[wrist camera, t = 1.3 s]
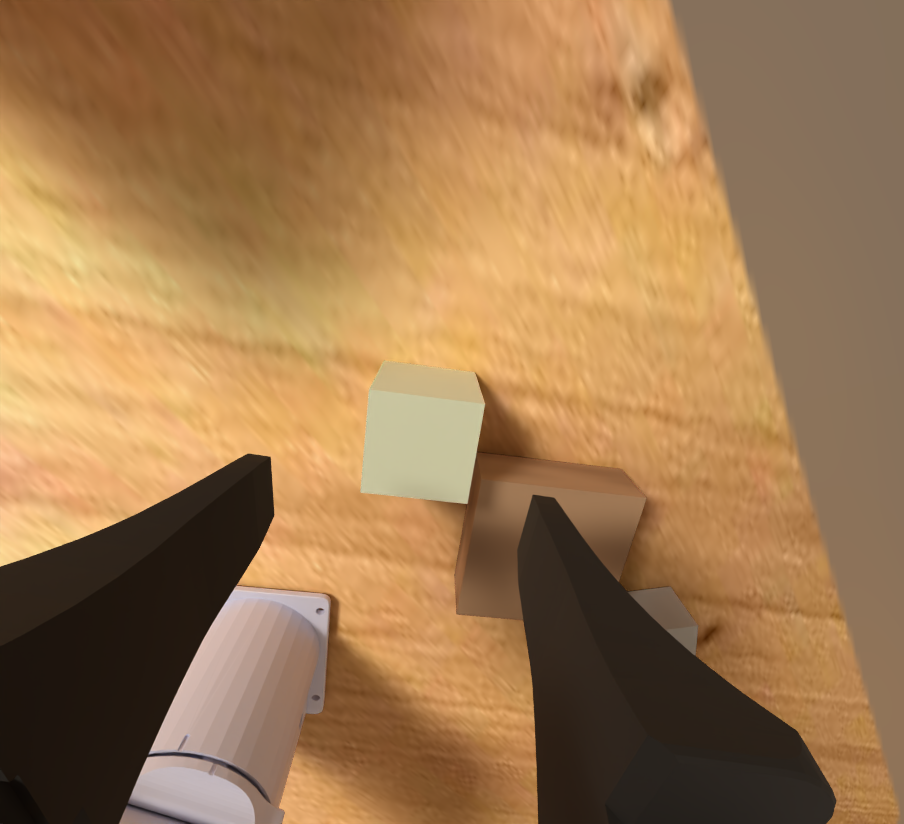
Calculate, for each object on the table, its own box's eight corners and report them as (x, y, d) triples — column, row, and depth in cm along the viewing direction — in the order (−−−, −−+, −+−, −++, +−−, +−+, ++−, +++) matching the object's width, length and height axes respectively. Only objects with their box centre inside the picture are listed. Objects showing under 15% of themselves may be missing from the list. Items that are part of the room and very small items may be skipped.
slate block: (666, 660, 29) (691, 704, 26) (574, 670, 29) (589, 716, 26) (670, 586, 27) (698, 625, 24) (571, 598, 27) (587, 639, 24)
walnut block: (586, 587, 26) (603, 627, 24) (454, 575, 26) (456, 614, 23) (621, 469, 24) (646, 497, 21) (476, 452, 23) (481, 479, 20)
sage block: (461, 453, 23) (467, 503, 19) (376, 443, 23) (360, 492, 18) (474, 371, 22) (485, 404, 17) (384, 360, 21) (369, 389, 17)
